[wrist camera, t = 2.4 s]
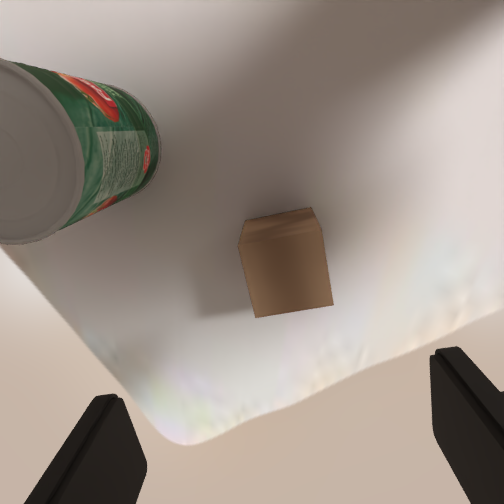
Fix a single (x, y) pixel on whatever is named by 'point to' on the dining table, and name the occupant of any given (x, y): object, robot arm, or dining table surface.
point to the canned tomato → (67, 150)
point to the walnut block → (285, 263)
